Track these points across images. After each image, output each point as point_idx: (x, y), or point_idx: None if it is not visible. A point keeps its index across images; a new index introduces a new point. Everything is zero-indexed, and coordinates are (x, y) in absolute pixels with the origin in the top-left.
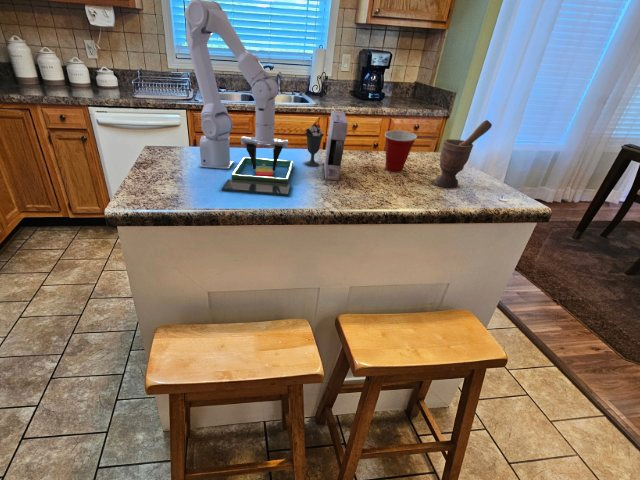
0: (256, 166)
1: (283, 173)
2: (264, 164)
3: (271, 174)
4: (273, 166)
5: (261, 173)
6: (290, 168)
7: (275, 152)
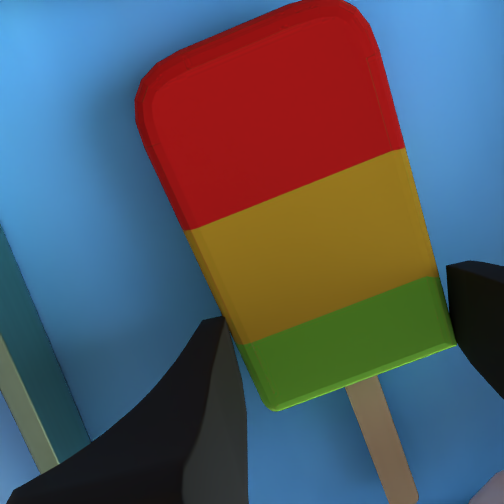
0: (452, 341)
1: (140, 399)
2: (394, 493)
3: (155, 104)
4: (212, 334)
5: (307, 80)
6: (31, 442)
7: (139, 460)
